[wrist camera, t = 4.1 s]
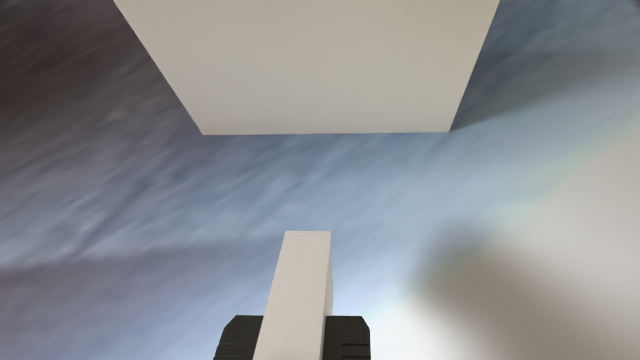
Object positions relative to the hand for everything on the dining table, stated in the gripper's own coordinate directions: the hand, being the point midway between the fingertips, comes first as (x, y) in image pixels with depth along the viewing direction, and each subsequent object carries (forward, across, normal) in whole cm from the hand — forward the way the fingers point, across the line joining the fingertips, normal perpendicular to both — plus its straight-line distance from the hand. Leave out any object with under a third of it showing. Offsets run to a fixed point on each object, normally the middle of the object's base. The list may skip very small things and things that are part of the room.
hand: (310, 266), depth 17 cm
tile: (+10, 0, +3) cm, 10 cm away
